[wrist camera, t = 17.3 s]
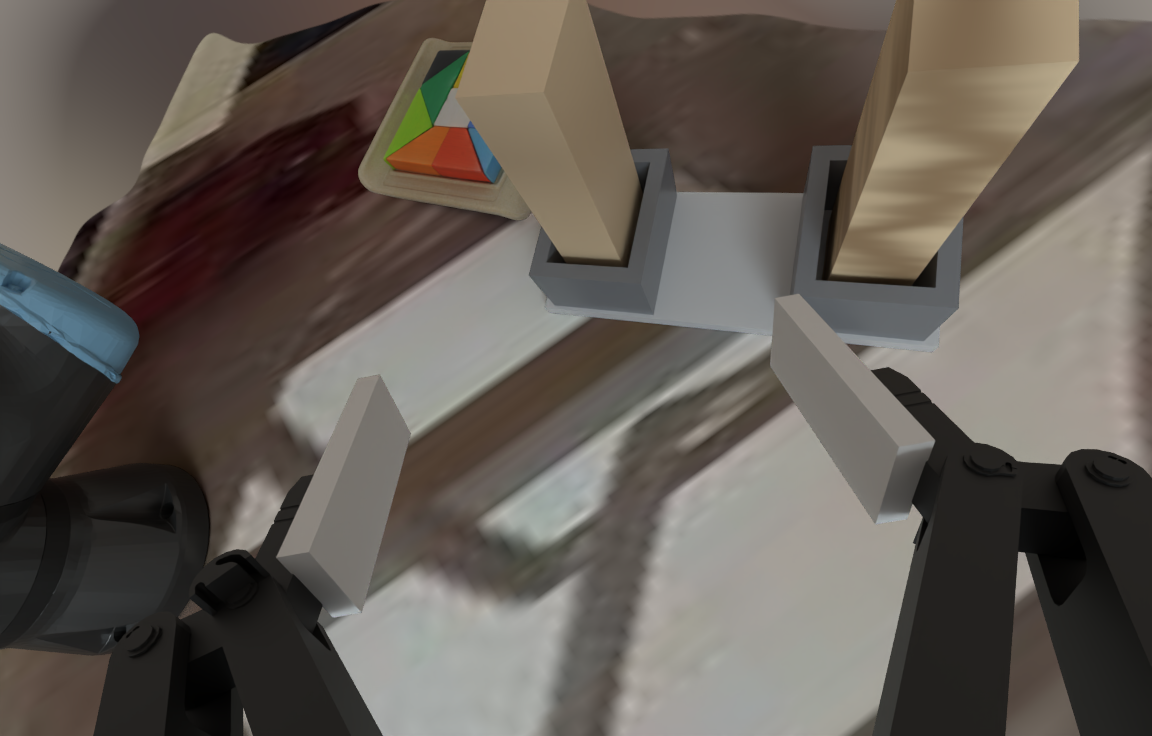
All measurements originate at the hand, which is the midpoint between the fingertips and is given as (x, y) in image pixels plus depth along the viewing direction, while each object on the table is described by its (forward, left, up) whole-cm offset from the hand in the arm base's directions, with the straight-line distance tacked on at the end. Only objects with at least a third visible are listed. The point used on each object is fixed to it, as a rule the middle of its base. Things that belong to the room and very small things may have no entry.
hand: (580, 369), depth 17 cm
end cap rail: (+3, +13, -18) cm, 22 cm away
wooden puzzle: (-22, +26, -18) cm, 39 cm away
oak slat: (+11, +13, -17) cm, 24 cm away
